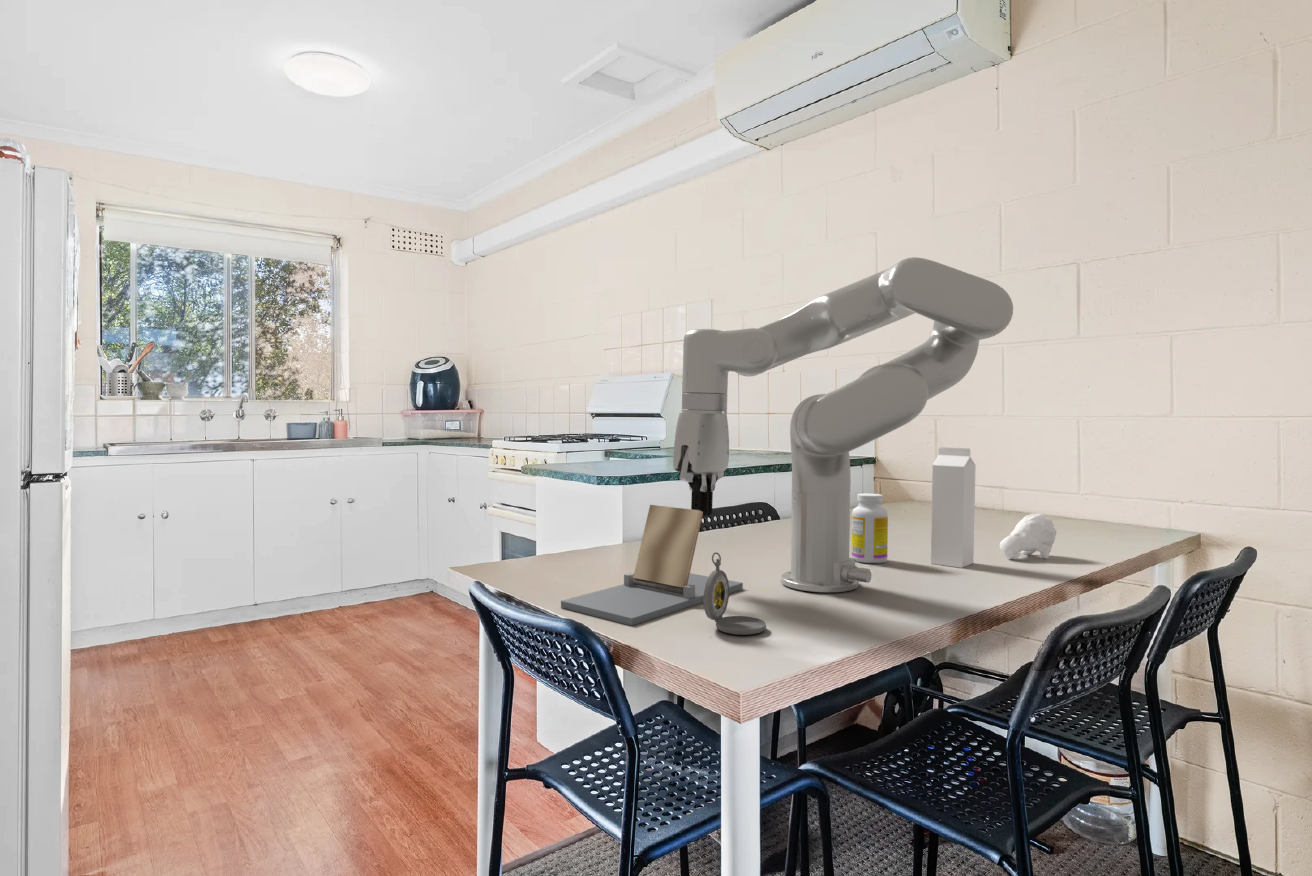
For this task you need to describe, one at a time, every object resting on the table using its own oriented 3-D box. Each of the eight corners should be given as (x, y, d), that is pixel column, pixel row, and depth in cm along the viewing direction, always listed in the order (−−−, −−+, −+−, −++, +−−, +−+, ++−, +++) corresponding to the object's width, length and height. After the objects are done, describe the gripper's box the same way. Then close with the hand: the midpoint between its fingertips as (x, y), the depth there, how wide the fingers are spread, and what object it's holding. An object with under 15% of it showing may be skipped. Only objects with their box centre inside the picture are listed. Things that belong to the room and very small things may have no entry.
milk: (962, 568, 139) (964, 449, 138) (929, 563, 143) (932, 447, 142) (973, 563, 143) (976, 447, 142) (942, 558, 147) (944, 446, 146)
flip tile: (703, 511, 117) (699, 510, 116) (685, 595, 114) (681, 594, 113) (653, 506, 123) (650, 504, 122) (635, 585, 120) (631, 584, 119)
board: (742, 589, 122) (742, 572, 122) (631, 625, 101) (631, 605, 101) (675, 576, 131) (675, 560, 131) (560, 607, 110) (560, 589, 110)
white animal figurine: (1059, 514, 148) (1016, 523, 143) (1060, 556, 148) (1018, 567, 143) (1031, 510, 153) (988, 519, 148) (1032, 551, 154) (990, 561, 149)
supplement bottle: (888, 558, 147) (889, 493, 146) (886, 565, 141) (887, 497, 140) (853, 556, 149) (854, 491, 149) (849, 562, 143) (850, 495, 143)
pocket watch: (771, 637, 97) (771, 560, 96) (706, 638, 96) (706, 560, 96) (757, 619, 105) (758, 548, 105) (697, 620, 104) (698, 548, 104)
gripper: (712, 405, 133) (709, 508, 134) (658, 403, 121) (655, 516, 122) (748, 405, 128) (745, 513, 129) (695, 404, 116) (692, 522, 117)
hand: (701, 514), depth 125 cm, fingers closed
